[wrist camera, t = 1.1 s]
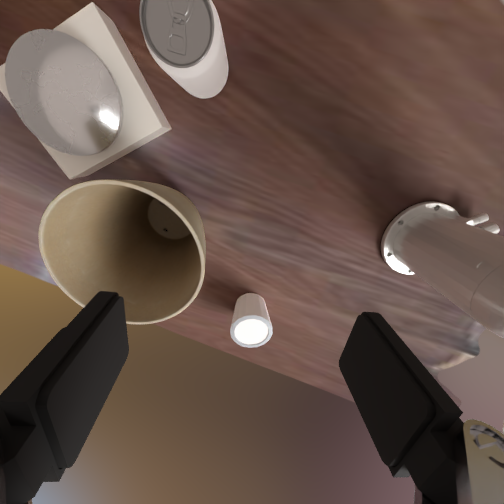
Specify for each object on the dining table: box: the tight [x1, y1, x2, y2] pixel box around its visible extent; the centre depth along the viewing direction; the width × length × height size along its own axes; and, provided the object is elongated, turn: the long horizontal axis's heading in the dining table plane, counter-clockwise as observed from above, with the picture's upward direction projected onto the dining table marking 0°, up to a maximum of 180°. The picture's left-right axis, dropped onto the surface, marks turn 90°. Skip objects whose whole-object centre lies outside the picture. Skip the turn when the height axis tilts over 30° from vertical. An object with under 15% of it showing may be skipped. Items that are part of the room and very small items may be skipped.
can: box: [139, 0, 228, 99], centre depth 23 cm, size 6×6×12 cm
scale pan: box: [5, 29, 123, 156], centre depth 25 cm, size 11×11×2 cm
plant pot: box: [39, 180, 206, 324], centre depth 29 cm, size 15×15×16 cm
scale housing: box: [0, 2, 172, 180], centre depth 28 cm, size 14×12×4 cm
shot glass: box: [230, 293, 273, 348], centre depth 41 cm, size 7×7×7 cm
